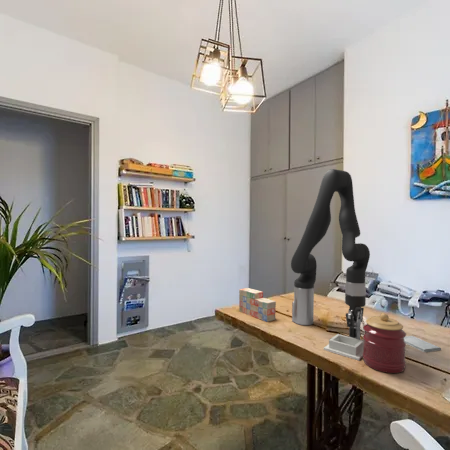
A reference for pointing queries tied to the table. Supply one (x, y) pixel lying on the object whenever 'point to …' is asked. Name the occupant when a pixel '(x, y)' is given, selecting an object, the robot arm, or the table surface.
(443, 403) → the table surface
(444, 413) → the table surface
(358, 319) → the block
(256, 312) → the stack of blocks
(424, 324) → the table surface
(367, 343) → the canister
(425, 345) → the hard drive
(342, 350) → the dock
